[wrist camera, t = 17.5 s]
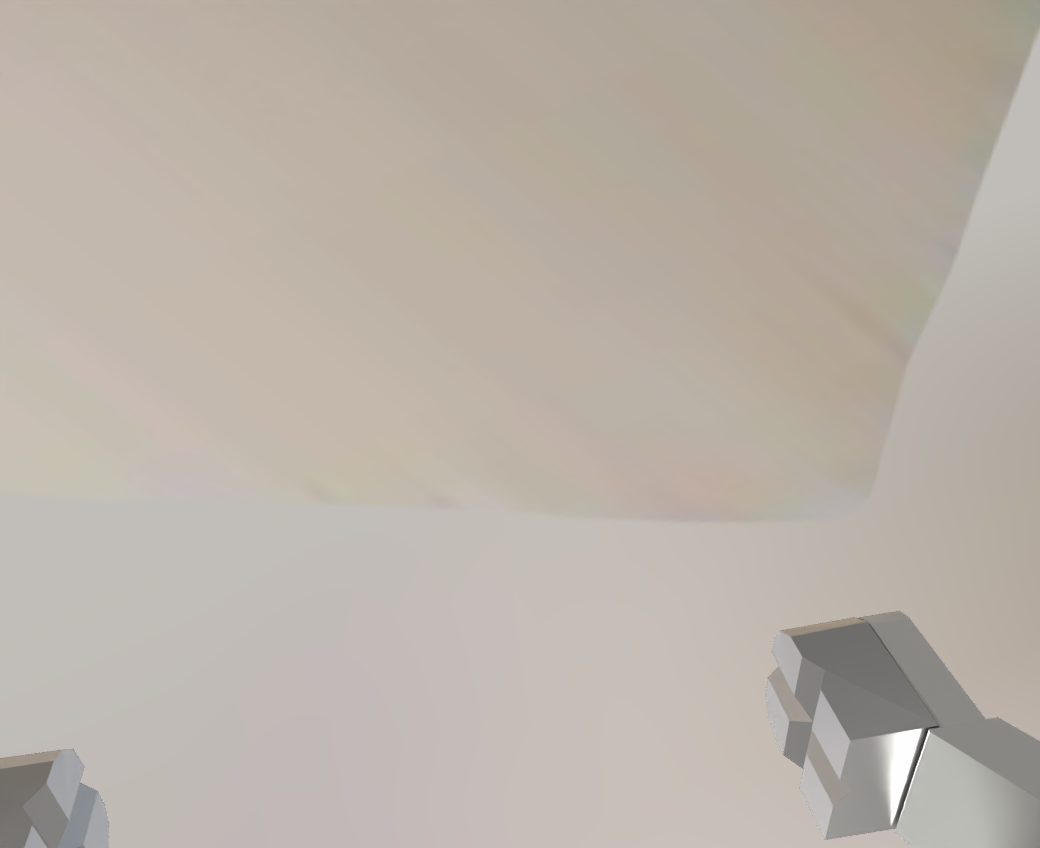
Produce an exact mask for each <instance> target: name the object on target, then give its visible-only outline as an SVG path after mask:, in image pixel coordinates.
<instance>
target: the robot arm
mask: <svg viewBox="0 0 1040 848" xmlns="http://www.w3.org/2000/svg"><path fill="white" fill-rule="evenodd" d="M772 654H773V656H774V658H775V659H776V661H777V663H778V665H779V666H778V667H777V669H776V670H775V671H774V672H773V673H772V674H771V675H770V676H769V677H768V680H767V689H766V703H767V710H768V717H769V721H770V724H771V727H772V730H773V733H774V736H775V738H776V740H777V743H778V745H779V747H780V749H781V751H782V753H783V755H784V756H785V757H787V758H788V759H790V760H791V761H793V762H794V763H796V764H797V765H798V766H800V767H801V768H803V772H802V777H801V782H800V787H799V788H800V790H801V793H802V795H803V797H804V799H805V801H806V803H807V805H808V807H809V809H810V811H811V813H812V815H813V817H814V819H815V821H816V823H817V825H818V827H819V829H820V831H821V833H822V835H823V837H824V839H825V840H828V839H834V838H840V837H846V836H852V835H859V834H865V833H871V832H876V831H883V830H889V829H896V830H895V833H896V834H897V835H898V836H899V837H901V838H902V839H903V840H904V841H905V842H907V843H908V844H909V845H910V846H911V847H913V848H1040V741H1039V740H1037V739H1035V738H1033V737H1032V736H1030V735H1028V734H1026V733H1024V732H1023V731H1021V730H1019V729H1017V728H1016V727H1014V726H1012V725H1011V724H1009V723H1007V722H1005V721H1004V720H1002V719H1000V718H998V717H996V718H989V719H985V717H984V716H983V715H982V714H981V712H980V711H979V709H978V708H977V707H976V705H975V704H974V703H973V701H972V700H971V699H970V698H969V696H968V695H967V694H966V692H965V691H964V690H963V688H962V687H961V686H960V684H959V683H958V682H957V680H956V679H955V678H954V676H953V675H952V674H951V672H950V671H949V670H948V668H947V667H946V666H945V664H944V663H943V662H942V660H941V659H940V658H939V656H938V655H937V654H936V652H935V651H934V650H933V648H932V647H931V646H930V645H929V643H928V642H927V641H926V639H925V638H924V637H923V635H922V634H921V633H920V631H919V630H918V629H917V627H916V626H915V625H914V623H913V622H912V621H911V619H910V618H909V617H908V616H906V615H905V614H903V613H902V612H900V611H896V612H890V613H883V614H877V615H872V616H865V617H860V618H849V619H842V620H837V621H832V622H826V623H820V624H814V625H809V626H804V627H798V628H792V629H786V630H781V631H779V633H778V634H777V635H776V637H775V638H774V644H773V649H772ZM83 771H84V765H83V764H82V762H81V760H80V759H79V757H78V755H77V754H76V752H75V750H74V749H64V750H57V751H50V752H42V753H35V754H28V755H20V756H13V757H6V758H0V848H108V838H109V821H108V817H107V812H106V808H105V804H104V802H103V800H102V798H101V796H100V794H99V792H98V791H96V790H94V789H92V788H90V787H88V786H86V785H84V784H82V783H80V781H81V777H82V774H83Z"/></svg>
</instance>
